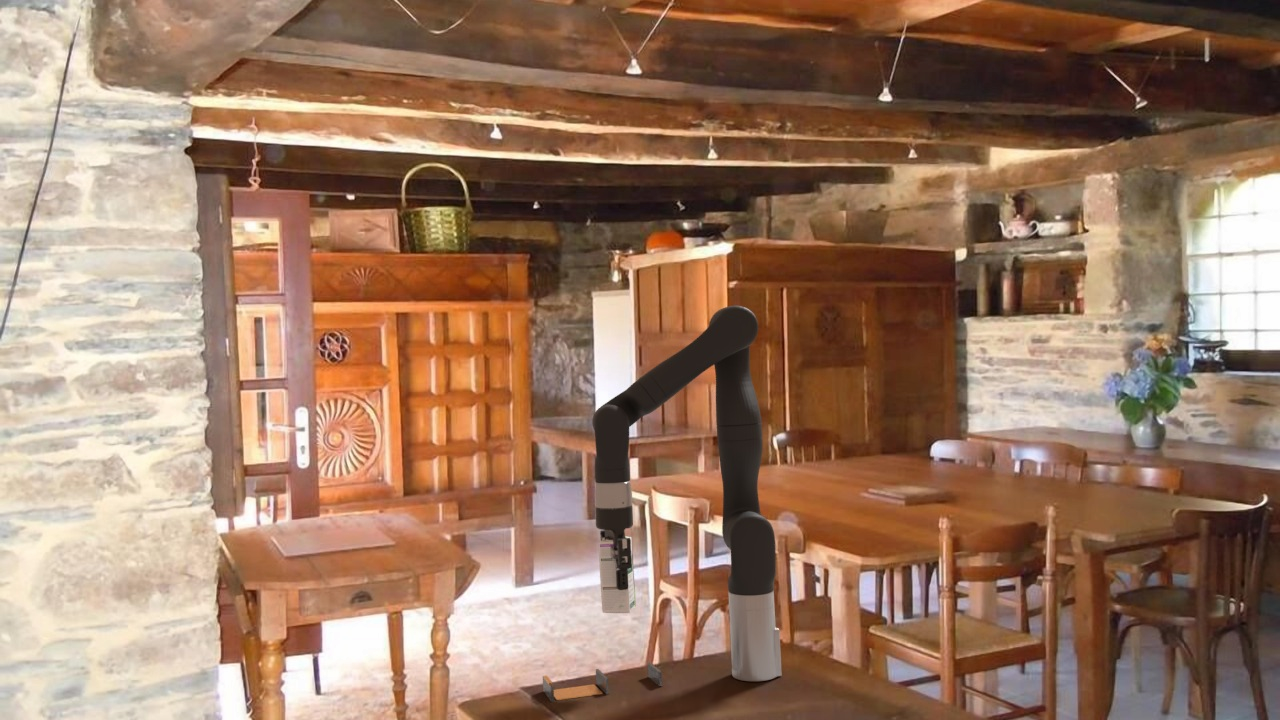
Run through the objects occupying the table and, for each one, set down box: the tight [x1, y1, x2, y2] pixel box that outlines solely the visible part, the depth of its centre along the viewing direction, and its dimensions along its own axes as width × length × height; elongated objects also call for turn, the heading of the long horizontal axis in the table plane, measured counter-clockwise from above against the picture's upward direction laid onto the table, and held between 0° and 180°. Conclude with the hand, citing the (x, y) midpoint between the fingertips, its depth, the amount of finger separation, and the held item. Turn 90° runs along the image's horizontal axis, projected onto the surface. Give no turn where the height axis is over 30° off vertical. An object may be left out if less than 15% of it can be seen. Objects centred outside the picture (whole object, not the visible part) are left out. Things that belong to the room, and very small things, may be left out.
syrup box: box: [597, 535, 637, 614], centre depth 216 cm, size 6×6×14 cm
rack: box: [542, 661, 663, 703], centre depth 214 cm, size 23×8×3 cm, turn 108°
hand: (616, 585), depth 216 cm, fingers closed on syrup box, 7 cm apart
